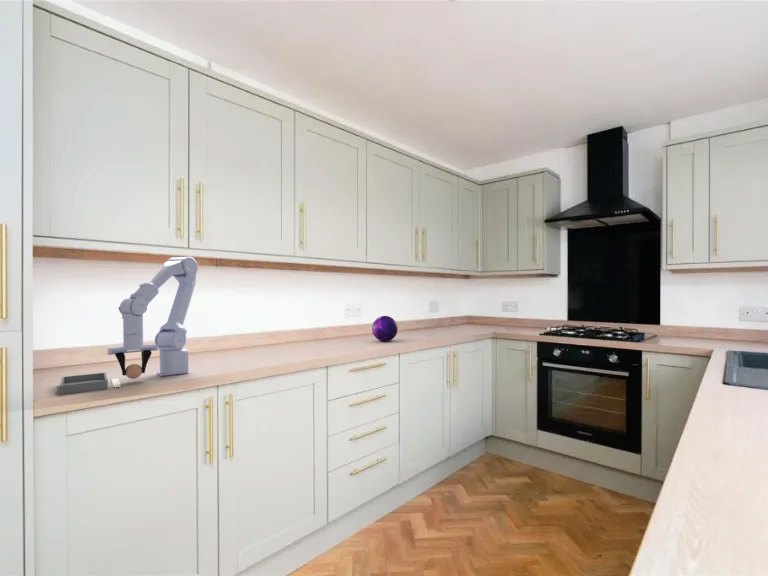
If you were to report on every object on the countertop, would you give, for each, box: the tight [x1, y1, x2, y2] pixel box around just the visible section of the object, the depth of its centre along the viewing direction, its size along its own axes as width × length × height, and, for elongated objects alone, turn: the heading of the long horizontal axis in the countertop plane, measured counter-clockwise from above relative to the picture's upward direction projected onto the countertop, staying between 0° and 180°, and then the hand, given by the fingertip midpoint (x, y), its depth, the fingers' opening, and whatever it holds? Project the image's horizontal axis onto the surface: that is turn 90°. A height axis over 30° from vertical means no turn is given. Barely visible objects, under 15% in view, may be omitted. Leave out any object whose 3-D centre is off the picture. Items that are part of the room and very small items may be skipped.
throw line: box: [110, 378, 122, 389], centre depth 139 cm, size 2×16×1 cm, turn 35°
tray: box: [58, 372, 109, 395], centre depth 134 cm, size 12×16×3 cm
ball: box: [125, 363, 143, 380], centre depth 141 cm, size 5×5×5 cm
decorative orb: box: [371, 315, 399, 343], centre depth 244 cm, size 15×15×15 cm
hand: (133, 373), depth 141 cm, fingers closed on ball, 5 cm apart
